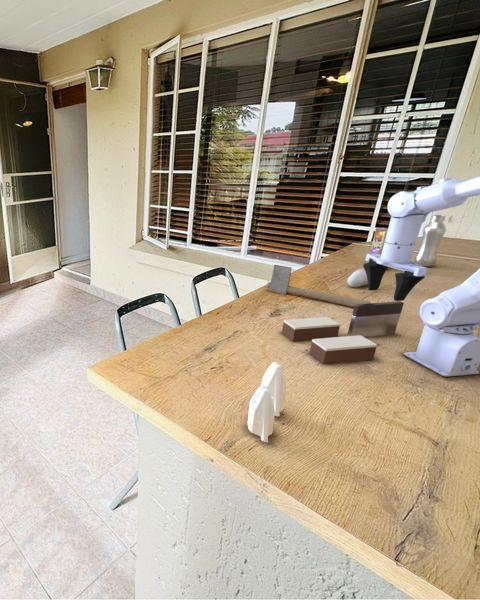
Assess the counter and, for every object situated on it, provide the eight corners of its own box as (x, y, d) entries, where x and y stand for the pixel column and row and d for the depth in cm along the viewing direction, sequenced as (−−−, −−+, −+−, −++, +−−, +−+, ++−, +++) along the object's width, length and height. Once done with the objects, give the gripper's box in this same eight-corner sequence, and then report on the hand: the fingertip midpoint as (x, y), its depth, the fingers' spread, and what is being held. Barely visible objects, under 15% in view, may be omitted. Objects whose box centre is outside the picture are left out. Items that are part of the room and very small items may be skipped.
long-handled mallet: (368, 312, 104) (265, 290, 126) (370, 310, 106) (267, 288, 127) (377, 282, 101) (269, 264, 122) (379, 281, 102) (271, 263, 123)
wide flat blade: (394, 334, 91) (404, 302, 88) (350, 338, 91) (358, 306, 87) (390, 332, 92) (399, 301, 89) (346, 336, 92) (354, 304, 88)
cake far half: (337, 337, 91) (340, 324, 90) (292, 341, 91) (295, 327, 89) (324, 329, 96) (327, 316, 94) (281, 333, 95) (283, 319, 94)
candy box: (366, 263, 148) (375, 227, 143) (378, 264, 147) (388, 227, 141) (374, 269, 140) (384, 231, 135) (387, 269, 139) (398, 231, 134)
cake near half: (373, 359, 81) (377, 344, 79) (323, 364, 80) (326, 348, 79) (356, 349, 85) (360, 335, 84) (309, 353, 85) (312, 339, 83)
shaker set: (262, 399, 70) (270, 350, 66) (285, 407, 67) (295, 357, 63) (242, 432, 62) (249, 380, 58) (267, 443, 59) (277, 389, 55)
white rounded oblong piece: (375, 279, 129) (351, 294, 124) (361, 267, 131) (338, 281, 126) (389, 270, 124) (366, 285, 118) (376, 257, 126) (352, 271, 121)
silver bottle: (418, 267, 139) (434, 217, 132) (409, 263, 145) (423, 214, 138) (438, 268, 138) (455, 216, 130) (428, 263, 144) (444, 214, 136)
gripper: (359, 238, 91) (348, 286, 96) (412, 250, 78) (395, 306, 83) (385, 236, 92) (372, 285, 96) (442, 248, 78) (424, 304, 83)
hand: (385, 294), depth 90 cm, fingers open, 7 cm apart
